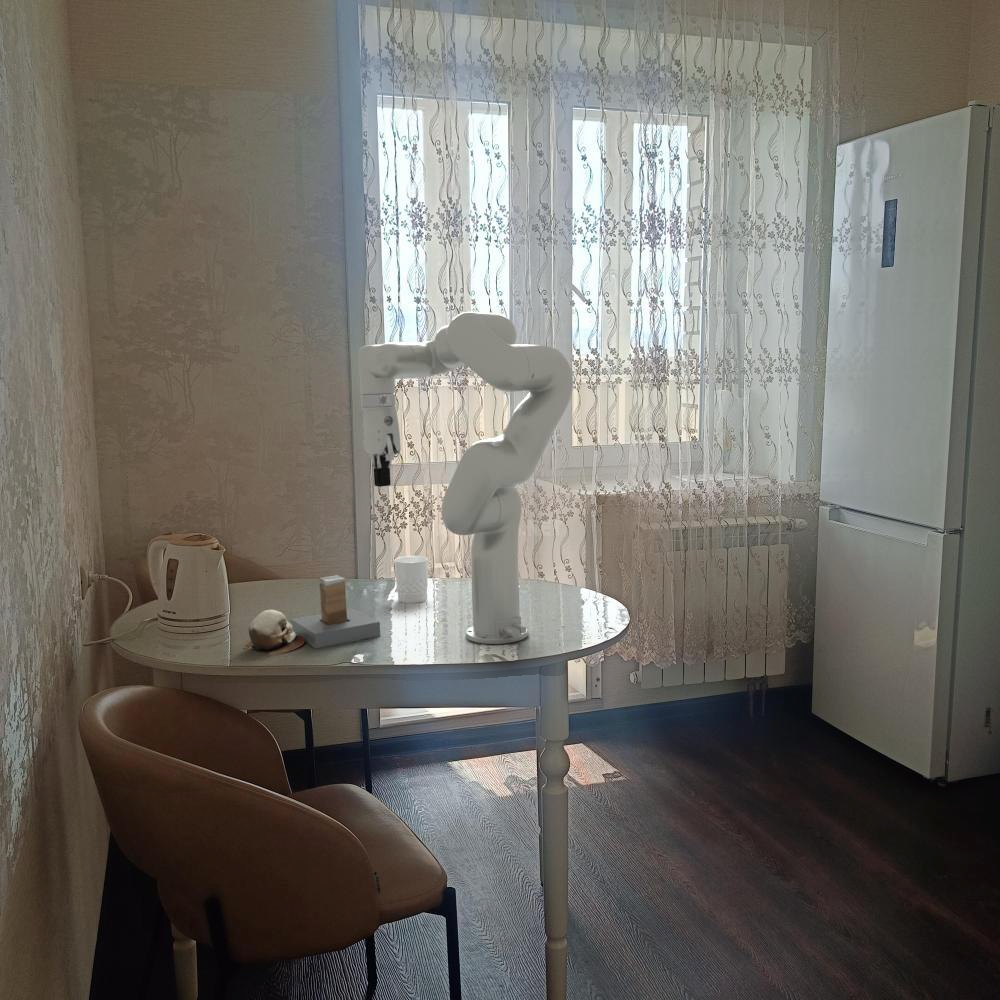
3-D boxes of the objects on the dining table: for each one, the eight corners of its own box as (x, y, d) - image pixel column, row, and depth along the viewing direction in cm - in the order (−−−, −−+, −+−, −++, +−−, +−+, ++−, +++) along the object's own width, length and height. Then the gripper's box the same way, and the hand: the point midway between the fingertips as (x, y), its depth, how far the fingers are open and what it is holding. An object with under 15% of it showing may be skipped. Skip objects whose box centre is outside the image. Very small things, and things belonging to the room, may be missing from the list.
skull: (274, 629, 191) (295, 597, 187) (300, 667, 188) (322, 636, 183) (227, 641, 182) (247, 608, 177) (253, 682, 178) (275, 649, 173)
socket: (380, 636, 187) (379, 621, 187) (315, 648, 180) (314, 633, 179) (353, 621, 199) (352, 608, 198) (291, 632, 192) (290, 618, 191)
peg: (347, 634, 189) (344, 578, 187) (329, 638, 187) (326, 581, 185) (340, 630, 192) (337, 575, 190) (322, 634, 190) (319, 577, 188)
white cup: (407, 595, 222) (405, 555, 220) (435, 597, 218) (433, 556, 217) (389, 602, 215) (387, 561, 213) (418, 605, 211) (416, 563, 210)
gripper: (409, 402, 194) (413, 487, 196) (379, 401, 206) (383, 481, 209) (377, 403, 190) (381, 490, 192) (348, 402, 202) (353, 484, 205)
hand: (382, 485), depth 200 cm, fingers closed
